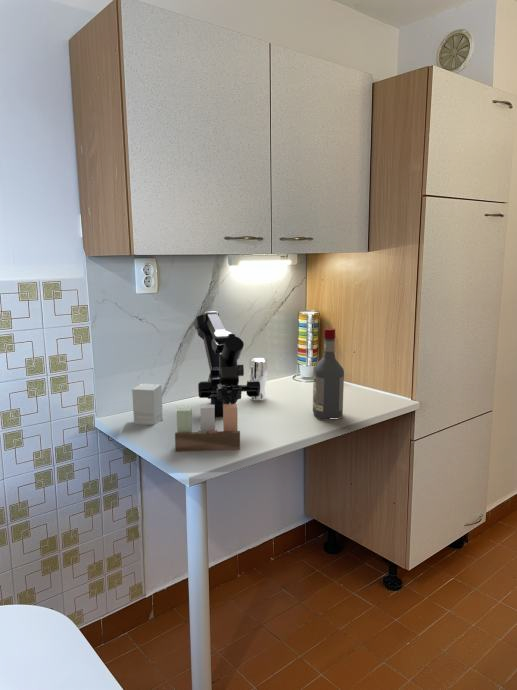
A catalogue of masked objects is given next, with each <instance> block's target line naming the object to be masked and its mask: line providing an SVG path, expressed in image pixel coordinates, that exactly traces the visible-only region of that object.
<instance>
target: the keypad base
mask: <svg viewBox="0 0 517 690" xmlns="http://www.w3.org/2000/svg"><path fill="white" fill-rule="evenodd" d="M174 442H175V444H174V449H175V452H202V451H203V452H204V451H205V452H206V451H232V450H233V451H235V450H236V451H237V450H238V451H239V450H241V431H240V430H238V431H223V430H222V431H221V430H220V431H218V430H217V429H215V430H209V432H207V430H205V431H201V430H197V431H192V432H177V431H176V432H174Z"/></svg>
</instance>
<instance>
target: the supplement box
mask: <svg viewBox="0 0 517 690" xmlns="http://www.w3.org/2000/svg"><path fill="white" fill-rule="evenodd" d="M131 391H132V407H133V409H132V410H133V412H132V413H133V424H135V425H143V426H149V425H150V426H155V425H157V424H158V423H160V422H163V420H164V418H163V415H164V414H163V393H162V384H158V383H157V384H156V383H155V384H154V383H140V384H138V385H136V386H135V387H133V388H132V389H131Z"/></svg>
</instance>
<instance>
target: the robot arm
mask: <svg viewBox="0 0 517 690" xmlns="http://www.w3.org/2000/svg"><path fill="white" fill-rule="evenodd" d="M194 330H196V333H197V336H198V337H200V338H201V339H202V341H203V344H204V349H205V353H206V354H205V355H206V357H207V358H206V359H207V363H208V367H209V371H210V372H209V375H208V380H207V381H199V382H198V384H197V385H198V387H197V390H198V398H200V399H208V400H210V405H215V417H223V404H237V402H238V400H241V399H242V392H246V396H248V397H249V398H250V397H258V396H259V394H260V382H259V381H258V380H253V381H250V380H246V384H239V382H240V378H239V377H244V375H245V371H244V370H245V369H244V368H245V367H244V364H238V360H240V357H241V354H242V353H243V350H244V349H243V348H244V341H243V340H242V339H241V338H240V337H238V336H236V333H232V332H231V331H228V330H226V328H225V326H224V324H223V321H222V320H221V317H220V313H219V311H217V310H216V311H215V310H214V311H213V310H210V311H205V312H203V313H202V314H200V315H198V316H196V318H195V319H194ZM228 397H231V402H230V403H229V400H228Z"/></svg>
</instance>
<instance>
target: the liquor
mask: <svg viewBox="0 0 517 690" xmlns="http://www.w3.org/2000/svg"><path fill="white" fill-rule="evenodd" d="M323 334H324V335H323V338H324V346H323V347H324V350H323V354H322V355H323V356H322V358H321V359H320V360H319V361H318V362H317V363H316V364H315V365H314V367H313V377H312V378H313V381H312V382H313V383H312V384H313V386H312V413H313V414H315V415H314V416H315V417H316V418H317V419H318V418H321V419H320V420H322V419H330V418H339V417H341V416H343V412H344V385H345V371H344V368H343V366H342V365H341V364H340V363H339V361H338V360H337V358H336V355H335V339H336V328H327V327H326V328H324V333H323ZM341 418H342V417H341ZM339 419H340V418H339Z"/></svg>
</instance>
